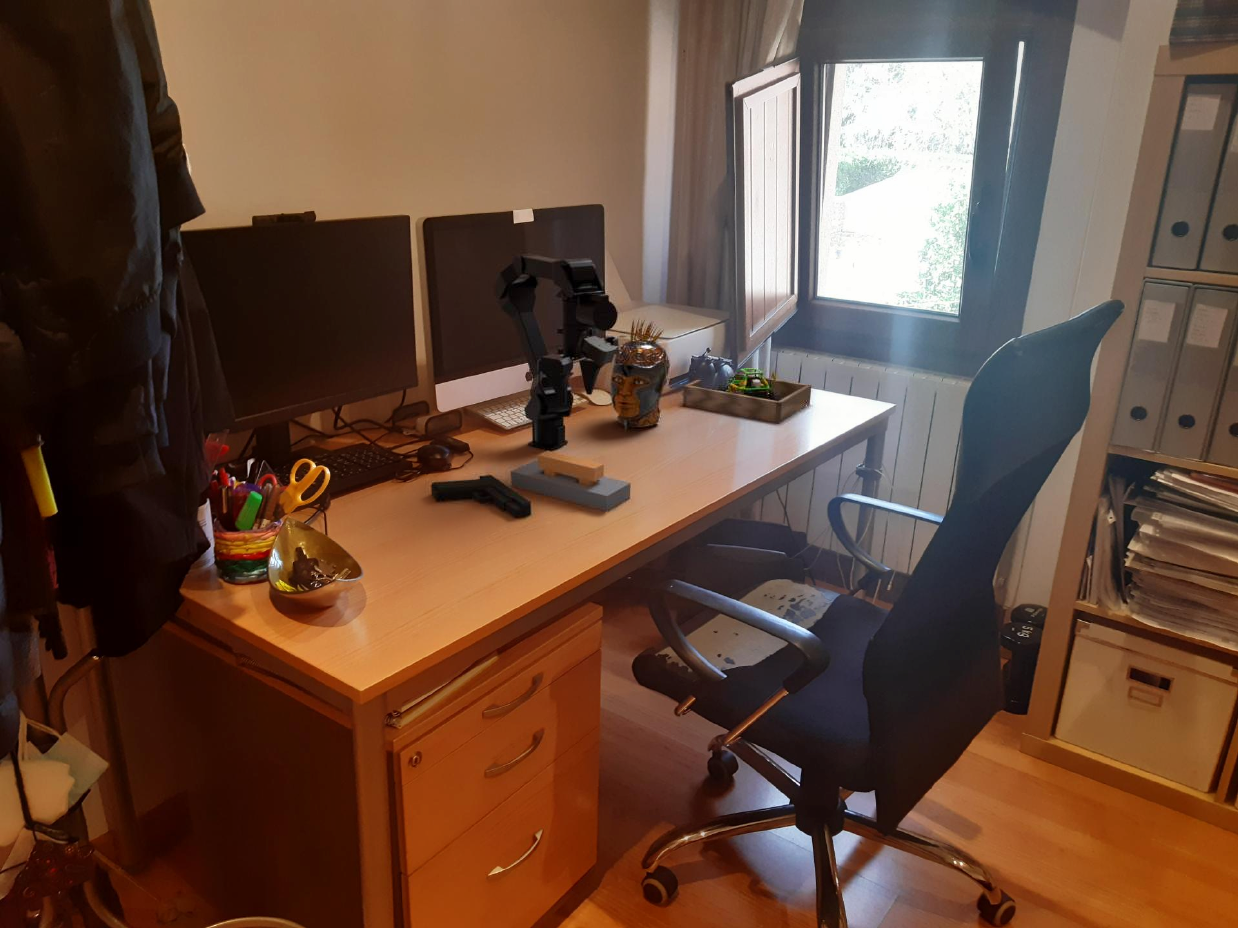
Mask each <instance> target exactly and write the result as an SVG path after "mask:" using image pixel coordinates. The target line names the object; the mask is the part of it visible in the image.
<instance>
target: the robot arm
mask: <svg viewBox="0 0 1238 928" xmlns="http://www.w3.org/2000/svg"><path fill="white" fill-rule="evenodd" d="M540 278H542V279H545V280H546V279H547V280H551V281H553V283H552V284H553V285H554V286H555V287H557V288H560V290H559V291H558V292H557V293H556V295H555V296H556V297H555V298H558V299H561V327H558V328H557V330H556V331H557V334H559V335H561V347H559V348H557V354H554V353H550V354H549V350H548V348H547V345H546V342H545V339H544V337H543V333H542V330H541V327H540V324H539V321H538V319H537V315H536V313H535V306H536V301H537V292H536V291H537V289H538V287H539V286H540V284H541V283H540ZM493 294H494V296H495V298H496V300H497V303H498V305H499V306H500V309H501V310H502V311H504V312H505V313H506V314H507V315H508V316H510V318H511V319H512V321H513V324H514V327H515V331H516V333H517V336H518V339H519V343H520V345H521V347H522V350H523V353H524V357H525V359H526V362H527V366H528V367H529V371H530V374H531V377H532V382H531V386H530V388H529V389H530V390H529V393H530V394H529V395H530V399H529V401H528V402H527V404H526V405H525V407H524V414H525V418H526V419H528V420H530V421H531V425H532V427H531V430H532V431H531V433H532V434H531V435H532V438H531V439H532V440H531V441H528V442H527V445H528V446H531V447H534V448H539V449H544V450H546V451H553V450H556V449H558V448H559V447H562V446H564V445H566V444H568V443H569V441H568V440H566V425H565V423H564V422H565V421H564V419H565V418H569V417H571V412H572V410H573V409H572V408H573V405H574V404H573V403H574V399H575V398H574V394H573V390H572V387H571V386H570V383H569V380H570V378H571V377H572V376H573V375H574V372H573V368H574V364H576V363H579V369H580V373H581V377H582V380H583V381H582V382H583V386H584V389H585V390H584V391H585V393H586V395H588V396H591V395H592V394H593V392H594V389H595V385H596V382H597V379H598V376H599V373H600V370H601V369H602V368H603V367H604V366H605V365H607V364H608V363H610V364H611V363H613V360H614V359H615V355H616V354H618V353H619V350H618V349H619V348H620V346H619V338H618V337H616V336H615V335H610V336H608V337H606V338H604V337H601V338H600V337H598V336H597V330H598V331H602V332H607V331H610V330H611V329H613V327H614V326H615V325H616V324H617V320H618V313H619V312H618V310H617V308H616V306H615V304H614V303H613V302H611V301H610V295H609V294H608V293H607V294H606V290H605V285H604V283H603V281H602V279H601V278H600V275H599V273H598V269H597V267H596V266H595V264H594V262H593V260H592V259H591V258H588V257H582V258H571V259H567V258H566V259H558V258H553V257H547V256H541V255H539V254H536V253H527V254H518V255H517V256H515V257H514V258H513V260H512V262H511V264H509V265H508V266H507V267H505V268H504V269H503V270H502V271H501V272H500V273H499V274H498V277H497V278H496V281H494V285H493Z"/></svg>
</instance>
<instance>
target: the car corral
mask: <svg viewBox="0 0 1238 928" xmlns="http://www.w3.org/2000/svg"><path fill="white" fill-rule="evenodd" d="M734 373H735V375H736V374H737V373H738V372H734ZM743 376H746V373H741V372H740V373H739V374H738V375H737V376H736V377H743ZM748 377H755V375H748ZM756 377H757V375H756ZM759 377H760V382H761V384H763V383H762V379H761V376H759ZM763 378H764V379H765V380H766V381H767V383H768V385H769V384H771V390H778V392H779V393H780V396H781V400H780V401H774V400H768V399H762V398H757V397H751V396H746V395H740V394H734V393H729V392H728V391H726V392H723V391H717V390H712V389H706V388H701V380H698V379H696V380H694V381H692V382H689V383H687V384H684V386H683V396H682V397H683V398H682V400H683V401H682V405H683V406H687V407H692V408H698V409H702V410H703V409H704V410H709V411H714V412H718V413H724V414H729V415H734V416H740V417H746V418H751V419H756V420H760V421H766V422H771V423H776V424H780V423H781V422H783V421H785V420H786V419H788V418H790V417H791V416H793V415H794V413H795V414H796V413H798V412H799V411H801V410H802V408H803V407H804V408H806V407H807V406H806V405H808V406H809V405H810V404H811V396H812V395H811V393H812V385H811V384H806V383H800V382H794V381H787V380H782V379H776V382H775V381H774V379H773V378H771V377H764V376H763ZM735 380H743V378H735ZM770 380H771V383H770ZM763 385H764V384H763ZM767 393H769V389H767ZM739 404H740V406H739ZM805 406H806V407H805ZM804 408H803V409H804ZM800 409H801V410H800ZM797 411H798V412H797ZM792 414H793V415H792ZM789 416H790V417H789Z"/></svg>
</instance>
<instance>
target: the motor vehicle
mask: <svg viewBox="0 0 1238 928" xmlns="http://www.w3.org/2000/svg"><path fill="white" fill-rule="evenodd" d="M747 371H751V372H747ZM753 371H754V372H753ZM741 372H742V373H743V374H746V376H743V377H736V376H737V375H738V374H739V373H740V374H741ZM736 373H737V374H736V375H735V376H734V377H730V379H729V381H730V383H728V382H727V384H729V388H728V386H727V388H726V387H725V384H724V385H719V389H718V391H723V392H729V393H734V394H740V395H746V396H751V397H757V398H762V399H768V400H774V401H780V400H781V396H780V393H779V392H778V390H771V384H769V385H768V383H767V381H766V380H765V379H764V378H765V377H764V372H763V371H762V370H759V369H758V368H755V367H753V368H752V367H751V368H749V367H746V368H741V369H739V371H738V372H736ZM748 375H752V376H755V377H748ZM757 375H760V376H757ZM756 376H757V377H756ZM760 377H761V379H762V383H763V384H764V385H763V384H761V382H760ZM763 377H764V378H763ZM731 378H733V379H731ZM734 378H743V380H735V381H734V383H731V382H732V381H733V380H734ZM770 379H774V381H775V382H776V380H777V377H776V372H775V371H772V374H771V377H770ZM770 383H771V380H770ZM767 389H769V394H768V393H767ZM726 390H727V391H726ZM739 406H740V404H739Z"/></svg>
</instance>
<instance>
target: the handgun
mask: <svg viewBox="0 0 1238 928" xmlns="http://www.w3.org/2000/svg"><path fill="white" fill-rule="evenodd" d="M430 490H431V493H430V494H431V495H432V497H433V499H434V500H435V502H437V503H438V502H454V501H468V500H469V501H470V500H474V501H476V502H478V503H479V504H489V503H491V504H493V505H494V506H495V507H496V508H498V509H499V510H501V511H502V512H503V513H508V515H511V516H512V517H513V518H514V519H515V518H520V517H523V518H527V517H529V516H530V517H531V516H532V502H531V500H529V499H527V498H526V497H524V496H523V495H521V494H520V493H519V492H517V491H515V489H513V488H511V487H509V486H508V485H506V484H505V483H504V482H502V481H501V480H499V479H498V478H496V477H495V476H494V475H492V474H486V475H479V479H478V478H477V479H474V478H473V479H463V480H450V481H449V480H448V481H434V482H432V483H431V485H430Z"/></svg>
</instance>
